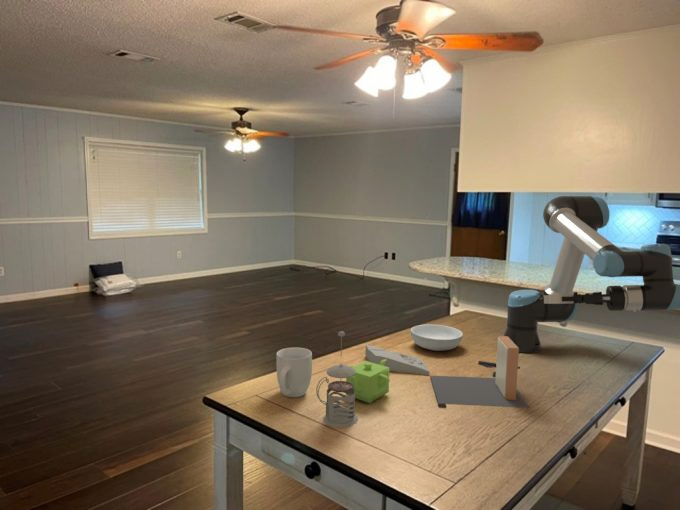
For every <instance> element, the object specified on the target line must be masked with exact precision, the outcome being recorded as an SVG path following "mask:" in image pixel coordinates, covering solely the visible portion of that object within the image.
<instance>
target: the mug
mask: <svg viewBox="0 0 680 510" xmlns="http://www.w3.org/2000/svg"><path fill="white" fill-rule="evenodd" d="M275 357H276V361H275V362H276V367H275V368H276V377H277V378H276V379H277V382H278V386H279V389H280V390H279V391H280V392H281V394H283V395H284V396H285V397H287V398H300V397H303V396H304V395H305V394H306V393H307V391H308V389H309V386H310V384H311V381H312V374H313V373H312V372H313V353H312V351H311V350H310V349H308V348H305V347H304V348H303V347H286V348H285V347H284V348H282V349H280V350H278V351H276V356H275Z"/></svg>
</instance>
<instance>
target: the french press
mask: <svg viewBox="0 0 680 510" xmlns="http://www.w3.org/2000/svg"><path fill="white" fill-rule="evenodd" d="M337 336H338V337H340V356H342V352H343V351H342V348H343V347H342V346H343V344H342V341H343V337H345V336H346V333H345V331H341V330H340V331H339V332H338V333H337ZM325 371H326V375H327V376H329V377H330V378H335V379H340V380H336V381H335V380H334V381H331V382H330V381H329V378H328V377H327V376H324V377H323V378H321V379H320V380H318V383H317V385H316V396H317V399H318V400H319V402H321V403H322V404H323V405H325V415H324V416H323V418H322V422H323V423H324V424H325V425H327V426H330V427H332V428H336V429H337V428H338V429H340V428H341V429H343V428H344V429H345V428H349V427H353V426H355V425H356V424H357V423H358V422H357V421H359V419H358V416H357V415H356V414H355V405H356V402H355V400H356V399H355V390H354V389H353V388H354V385H353V384H352V383H350V382H347V381H346V380H342V379H346V378H348V377H352V376H354V375H355V373H356V371H355V370H354V369H353V368H352V367H349V365H346V364H337V365H333V366H331V367H329V368H328V369H326V370H325ZM324 382H326V383H327V387H328V388H327V389H326V401H325V400H322V399H321V398H320V396H319V395H320V394H319V393H320V388H321V387H322V385H323V383H324ZM346 394H350V396H348V395H346ZM337 395H338V396H337ZM343 406H344V407H343ZM354 424H355V425H354Z"/></svg>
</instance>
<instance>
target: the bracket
mask: <svg viewBox="0 0 680 510" xmlns="http://www.w3.org/2000/svg"><path fill="white" fill-rule="evenodd" d="M477 364H478V365H480V366H482V367H485V368H490V369H491V368H492V369H494V368H496V362H489V361H483V360H482V361H481V360H478V363H477ZM518 369H519V370H520V369H521V366H519V365H518ZM492 378H496V371H494V372H493V373H492Z"/></svg>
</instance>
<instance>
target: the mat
mask: <svg viewBox="0 0 680 510" xmlns="http://www.w3.org/2000/svg"><path fill="white" fill-rule="evenodd" d="M429 377H430V378H429V379H430V382H431V386H432V388H433V392H434V396H435V399H436V403H437V406H438V407H439V408H440V407H441V408H447V405H459V406H460V405H462V406H464V405H465V406H479V407H480V406H482V407H484V406H485V407H486V406H487V407H504V408H506V407H507V408H509V407H511V408H528V409H529V408H530V406H529V405H528V403H527V402H526V400H525V399H524V398H523V396H522V395H521V394H520V392H519V391H518V390H517V388H516V400H509V399H505V398H504V396H503V395H502V393H501V391H500V390H499V388H498V387H497V385H496V383H495V379H496V377H481V376H480V377H477V376H457V375H456V376H452V375H449V376H448V375H429Z"/></svg>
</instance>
